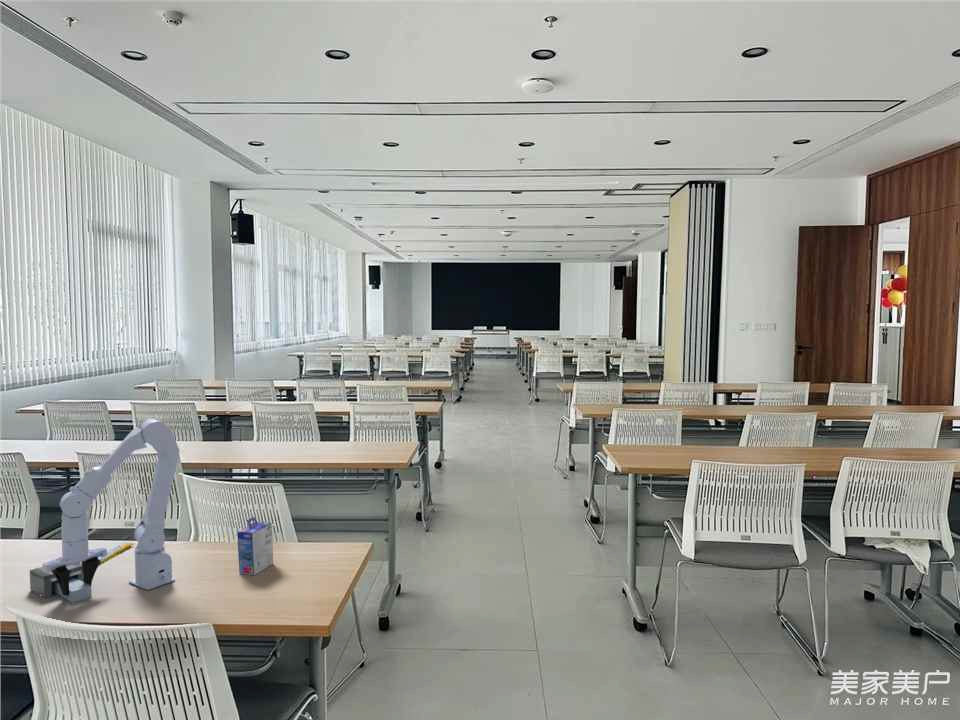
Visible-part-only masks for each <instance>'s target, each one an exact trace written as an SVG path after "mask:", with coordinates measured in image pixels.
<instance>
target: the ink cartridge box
mask: <svg viewBox="0 0 960 720" xmlns="http://www.w3.org/2000/svg"><path fill="white" fill-rule="evenodd" d="M252 521H254V522H252ZM251 522H252V523H251ZM246 523H247V525H248V526H247V527H245V528H243V529H240V530H238V531H237V534H236V535H237V551H238V553H237V555H238V571H239V574H240V575H245V576H246V575H247V576H255V575H257V574H258V573H260V572H262V571H264V570H265V569H267V568H268V567H270V566H271V565H273V564H274V544H273V543H274V542H273V541H274V538H273V523H272V522H264V521H263V522H262V521H257V519H256V518H255V517H254V516H253V517H251V518H249V519H246Z"/></svg>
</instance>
